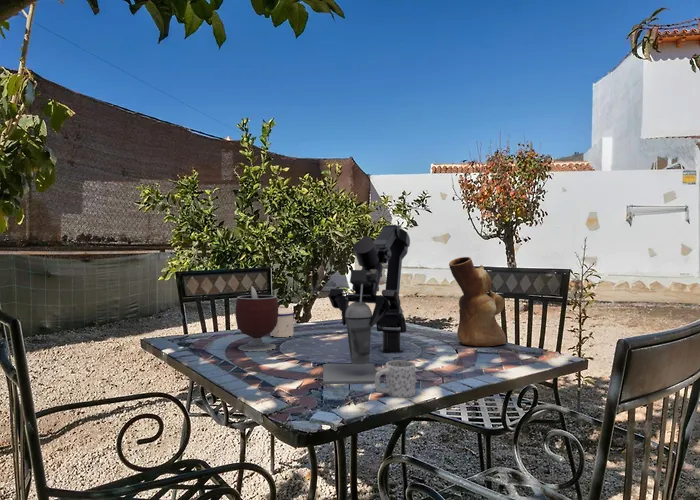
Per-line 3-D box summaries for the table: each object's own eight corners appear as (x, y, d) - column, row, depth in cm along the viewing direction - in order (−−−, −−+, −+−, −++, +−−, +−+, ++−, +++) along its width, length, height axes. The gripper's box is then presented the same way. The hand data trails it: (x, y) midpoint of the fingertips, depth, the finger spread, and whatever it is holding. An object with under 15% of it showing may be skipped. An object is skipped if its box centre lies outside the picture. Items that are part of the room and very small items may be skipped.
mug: (404, 387, 115) (404, 359, 115) (421, 394, 109) (421, 365, 109) (367, 393, 110) (367, 364, 110) (383, 401, 104) (383, 370, 104)
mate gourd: (283, 350, 157) (282, 288, 157) (239, 354, 151) (239, 290, 151) (271, 342, 171) (271, 285, 171) (231, 345, 166) (231, 286, 166)
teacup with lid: (275, 333, 189) (275, 303, 189) (297, 334, 187) (297, 304, 187) (262, 338, 178) (262, 307, 178) (285, 340, 175) (285, 307, 175)
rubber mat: (323, 366, 135) (323, 364, 135) (373, 365, 136) (373, 363, 136) (323, 384, 117) (323, 381, 117) (380, 383, 118) (380, 380, 118)
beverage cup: (345, 359, 128) (342, 284, 128) (373, 358, 128) (370, 282, 129) (346, 366, 121) (343, 285, 121) (375, 364, 121) (372, 284, 121)
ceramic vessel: (516, 345, 165) (515, 256, 165) (467, 352, 154) (467, 257, 154) (482, 338, 178) (482, 256, 178) (435, 343, 168) (435, 256, 168)
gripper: (330, 258, 131) (314, 304, 121) (397, 258, 125) (387, 306, 115) (340, 285, 139) (326, 330, 129) (404, 286, 133) (395, 334, 122)
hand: (357, 325), depth 123 cm, fingers closed on beverage cup, 7 cm apart
